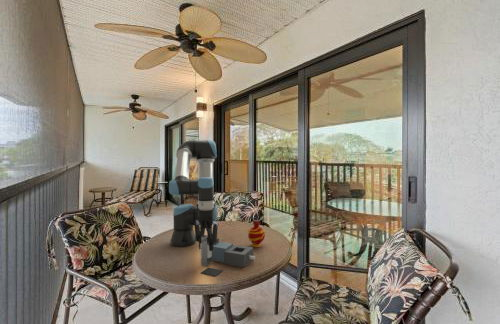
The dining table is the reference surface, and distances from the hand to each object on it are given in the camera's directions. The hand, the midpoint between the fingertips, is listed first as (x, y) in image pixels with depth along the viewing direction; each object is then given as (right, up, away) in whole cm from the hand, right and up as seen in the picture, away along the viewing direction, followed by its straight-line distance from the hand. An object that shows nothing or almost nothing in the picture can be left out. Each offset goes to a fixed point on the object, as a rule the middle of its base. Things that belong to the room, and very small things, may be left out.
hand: (206, 256), depth 125 cm
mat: (+4, -4, -8) cm, 10 cm away
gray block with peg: (0, -4, 0) cm, 4 cm away
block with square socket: (+10, -4, +6) cm, 13 cm away
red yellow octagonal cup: (+25, -4, +27) cm, 38 cm away
